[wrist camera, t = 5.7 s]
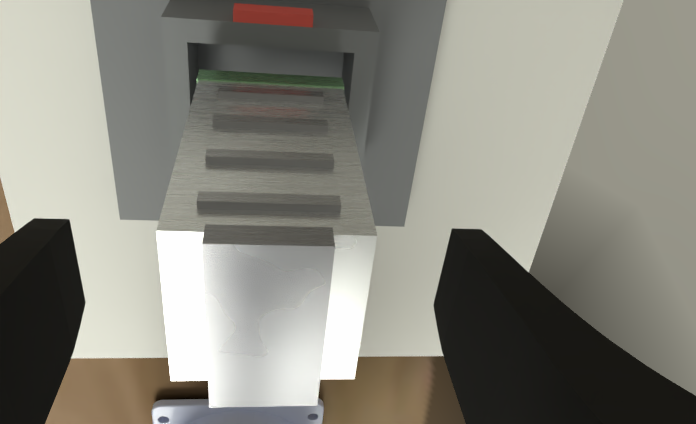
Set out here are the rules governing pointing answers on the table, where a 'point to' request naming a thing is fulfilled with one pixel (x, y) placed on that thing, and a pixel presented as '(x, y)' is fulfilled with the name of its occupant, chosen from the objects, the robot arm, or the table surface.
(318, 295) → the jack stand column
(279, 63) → the jack stand base
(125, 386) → the table surface
